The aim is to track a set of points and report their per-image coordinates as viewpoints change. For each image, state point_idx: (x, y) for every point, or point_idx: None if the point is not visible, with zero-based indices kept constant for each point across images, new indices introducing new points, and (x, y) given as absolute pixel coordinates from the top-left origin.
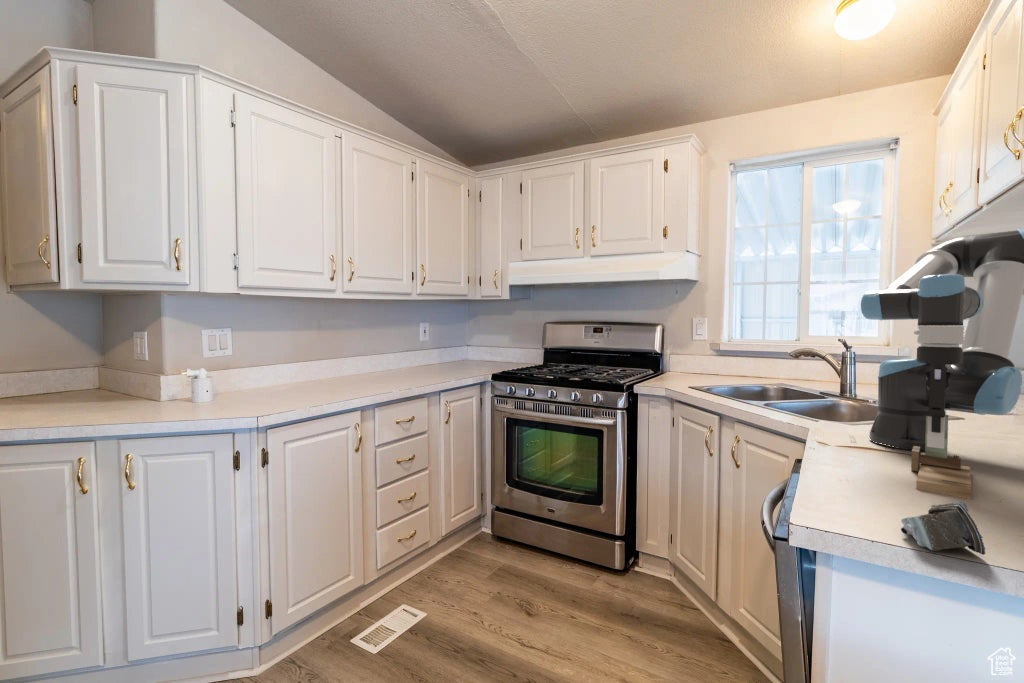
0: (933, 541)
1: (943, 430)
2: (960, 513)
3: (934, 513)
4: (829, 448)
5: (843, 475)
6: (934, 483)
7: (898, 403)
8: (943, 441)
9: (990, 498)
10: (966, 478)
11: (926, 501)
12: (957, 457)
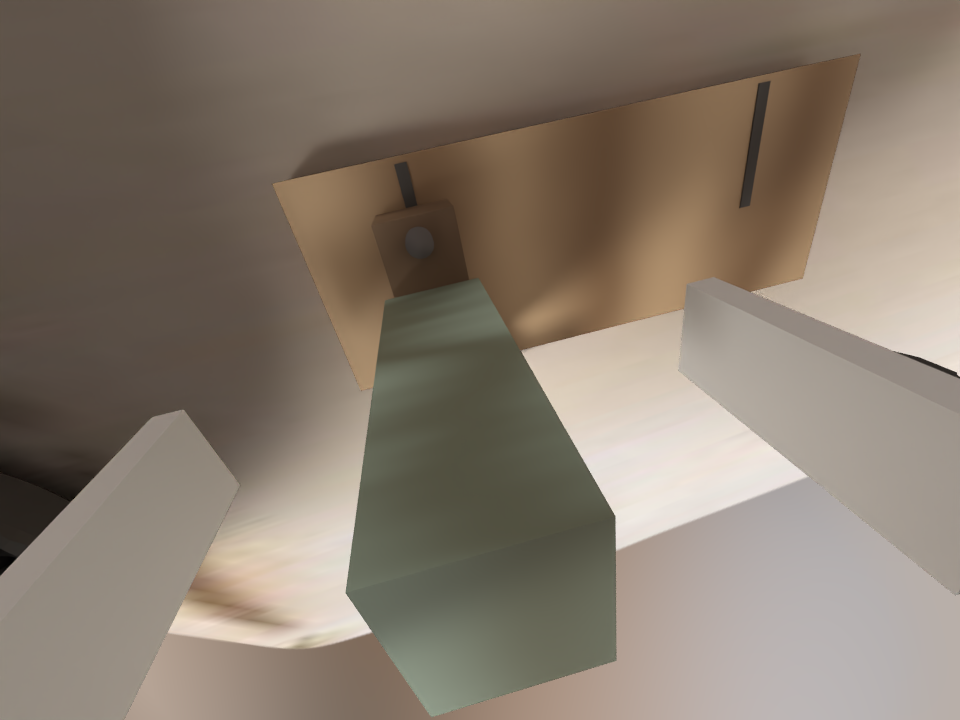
0: None
1: (864, 350)
2: None
3: None
4: (356, 617)
5: (702, 455)
6: (817, 215)
7: None
8: (761, 301)
9: None
10: (624, 128)
11: (898, 197)
12: (432, 233)
